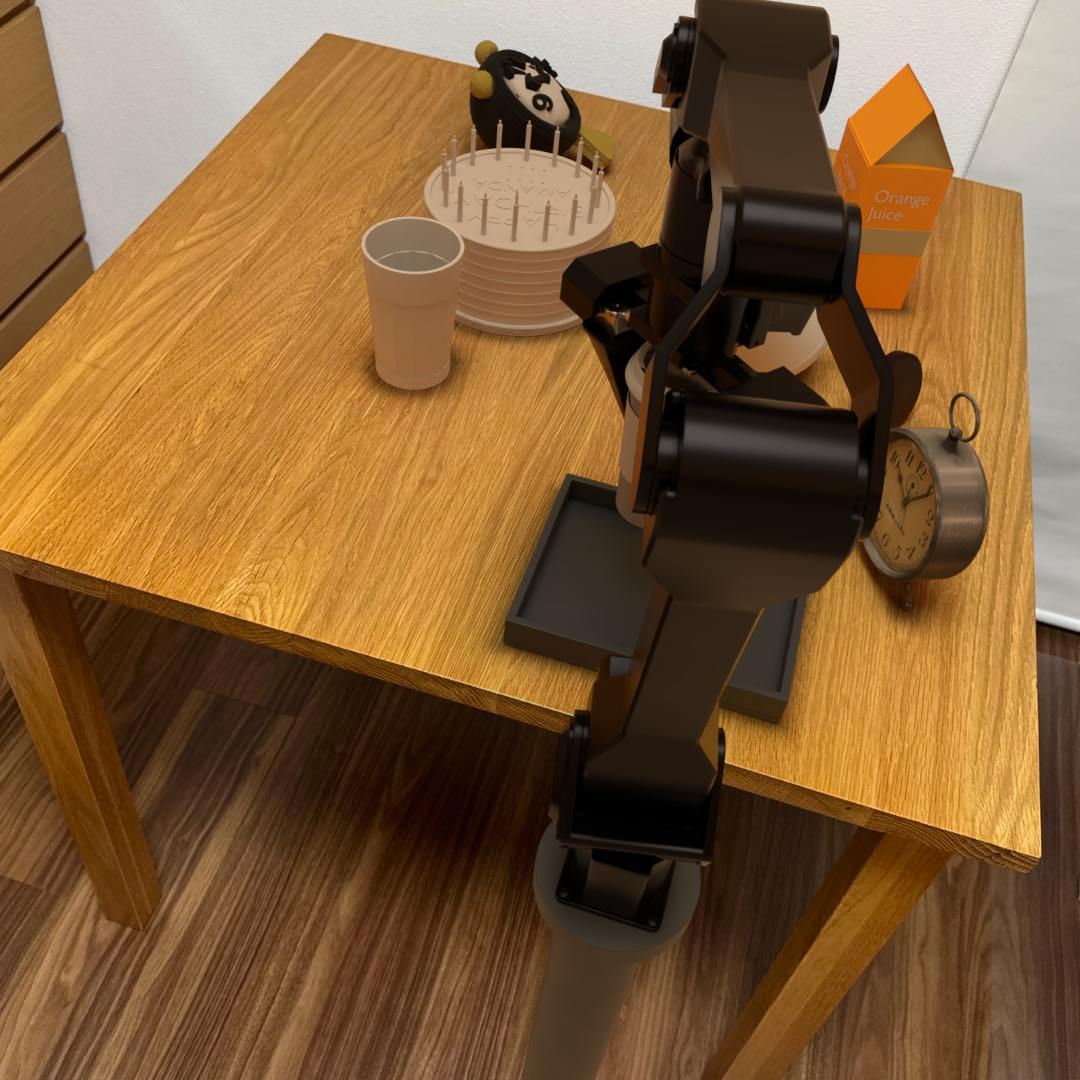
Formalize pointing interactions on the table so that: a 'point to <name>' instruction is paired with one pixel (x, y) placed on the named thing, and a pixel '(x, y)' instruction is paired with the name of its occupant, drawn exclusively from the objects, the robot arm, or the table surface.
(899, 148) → the orange juice
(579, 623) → the tray
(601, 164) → the alarm clock
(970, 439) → the alarm clock
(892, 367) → the light fixture
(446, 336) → the cup
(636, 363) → the cup
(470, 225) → the cake
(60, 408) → the table surface
